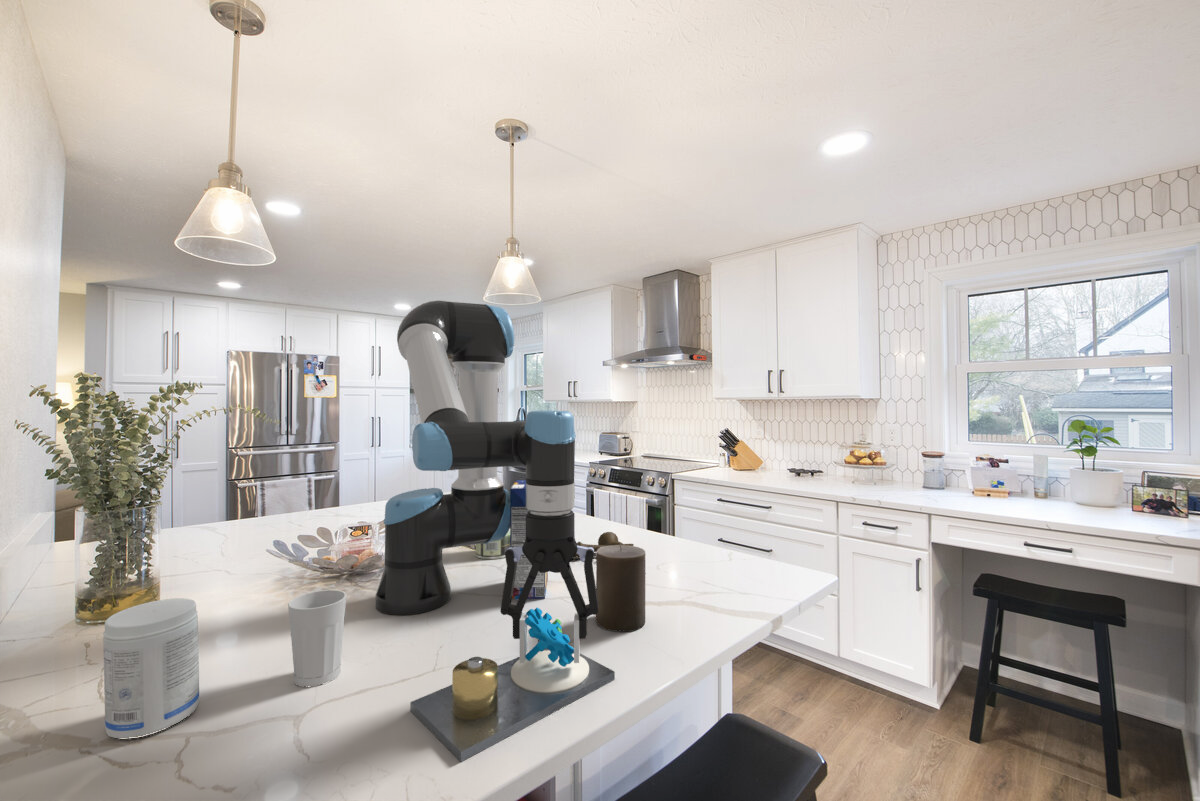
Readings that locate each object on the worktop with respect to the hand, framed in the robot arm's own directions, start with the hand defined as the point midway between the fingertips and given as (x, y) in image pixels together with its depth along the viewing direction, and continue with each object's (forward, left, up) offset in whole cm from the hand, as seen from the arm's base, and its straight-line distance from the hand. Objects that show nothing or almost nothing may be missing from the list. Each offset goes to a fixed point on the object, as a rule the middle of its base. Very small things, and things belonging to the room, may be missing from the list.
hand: (550, 658), depth 79 cm
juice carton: (-8, +38, -3) cm, 39 cm away
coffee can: (-22, +65, -3) cm, 69 cm away
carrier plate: (-4, -4, -3) cm, 7 cm away
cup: (-36, +1, -3) cm, 36 cm away
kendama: (+7, +62, -4) cm, 62 cm away
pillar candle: (+12, +21, -3) cm, 24 cm away
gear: (0, 0, 0) cm, 0 cm away
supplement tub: (-52, -10, -3) cm, 53 cm away
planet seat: (0, 0, -2) cm, 2 cm away
